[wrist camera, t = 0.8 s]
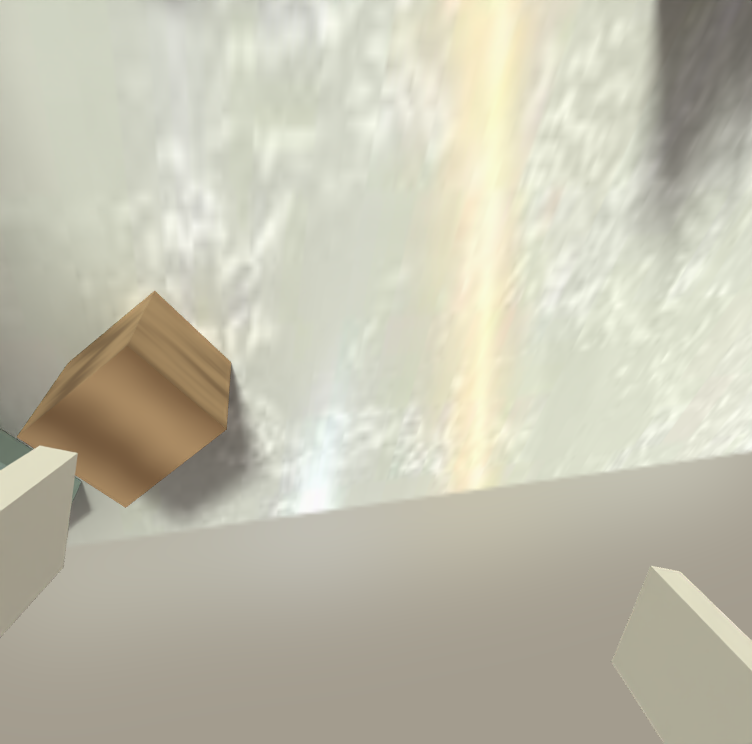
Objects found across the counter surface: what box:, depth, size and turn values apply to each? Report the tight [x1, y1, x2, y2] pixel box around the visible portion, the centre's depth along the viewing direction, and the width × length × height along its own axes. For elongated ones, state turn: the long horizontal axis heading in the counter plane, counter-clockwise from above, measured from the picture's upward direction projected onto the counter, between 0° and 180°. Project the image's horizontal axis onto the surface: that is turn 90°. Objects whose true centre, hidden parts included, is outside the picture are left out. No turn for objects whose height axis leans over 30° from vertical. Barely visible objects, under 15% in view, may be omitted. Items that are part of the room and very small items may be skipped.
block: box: [17, 291, 231, 508], centre depth 36 cm, size 9×8×10 cm
